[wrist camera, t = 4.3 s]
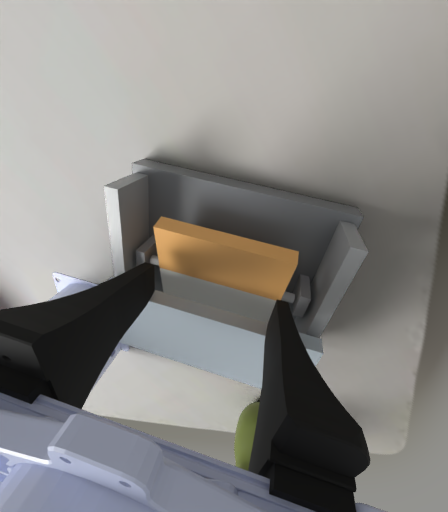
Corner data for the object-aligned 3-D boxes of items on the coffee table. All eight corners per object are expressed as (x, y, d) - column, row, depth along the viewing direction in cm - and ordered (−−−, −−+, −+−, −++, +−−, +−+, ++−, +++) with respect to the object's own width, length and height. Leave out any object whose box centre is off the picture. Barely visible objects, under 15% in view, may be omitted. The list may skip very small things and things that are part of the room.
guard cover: (294, 385, 17) (294, 400, 16) (117, 328, 18) (109, 339, 18) (321, 338, 14) (323, 353, 13) (111, 276, 16) (100, 286, 15)
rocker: (280, 319, 18) (278, 331, 18) (160, 284, 19) (154, 294, 19) (313, 255, 13) (313, 268, 12) (148, 213, 14) (140, 223, 14)
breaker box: (293, 339, 22) (293, 391, 18) (147, 296, 23) (117, 334, 19) (358, 207, 15) (380, 244, 11) (143, 158, 16) (97, 175, 13)
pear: (244, 415, 30) (226, 533, 22) (237, 389, 28) (213, 510, 19) (292, 422, 28) (291, 553, 20) (288, 394, 26) (286, 530, 18)
